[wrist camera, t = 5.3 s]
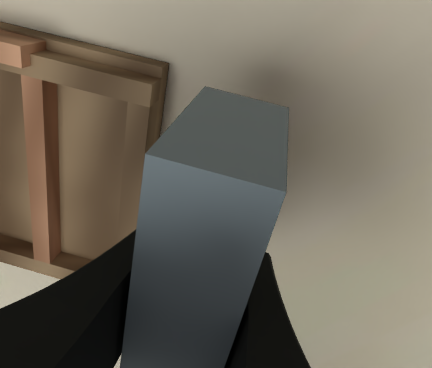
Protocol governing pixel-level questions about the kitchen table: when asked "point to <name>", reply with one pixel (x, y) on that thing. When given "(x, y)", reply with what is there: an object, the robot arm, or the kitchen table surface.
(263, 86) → the kitchen table surface
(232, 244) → the blue-gray rectangular block
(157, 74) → the rack
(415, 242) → the kitchen table surface
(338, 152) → the kitchen table surface
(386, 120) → the kitchen table surface
